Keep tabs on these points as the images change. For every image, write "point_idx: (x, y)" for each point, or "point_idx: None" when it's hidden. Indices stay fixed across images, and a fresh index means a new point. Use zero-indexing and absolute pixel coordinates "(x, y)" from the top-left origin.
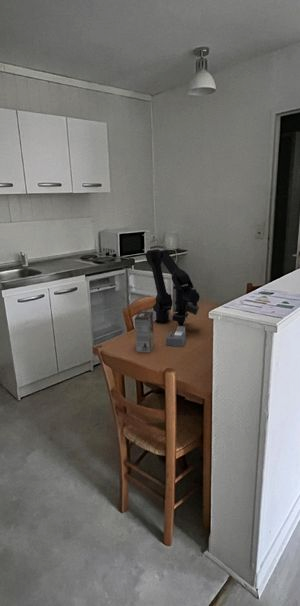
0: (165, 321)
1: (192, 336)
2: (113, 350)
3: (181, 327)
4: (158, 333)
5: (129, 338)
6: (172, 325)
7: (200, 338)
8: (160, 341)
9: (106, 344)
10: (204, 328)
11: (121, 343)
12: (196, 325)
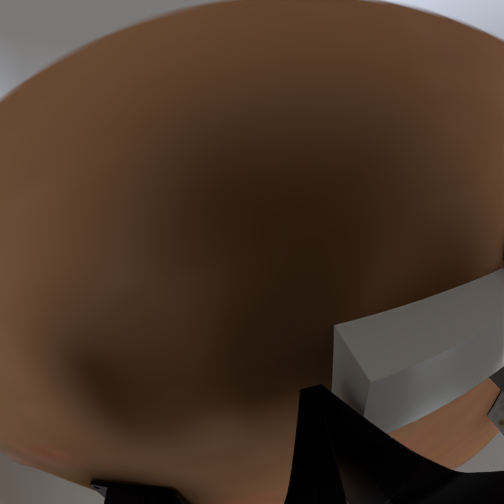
0: (160, 499)
1: (461, 180)
2: (497, 428)
3: (418, 392)
4: None
5: None
6: (187, 463)
7: (475, 82)
8: None
9: (456, 466)
10: (101, 69)
11: (463, 453)
12: (32, 244)
